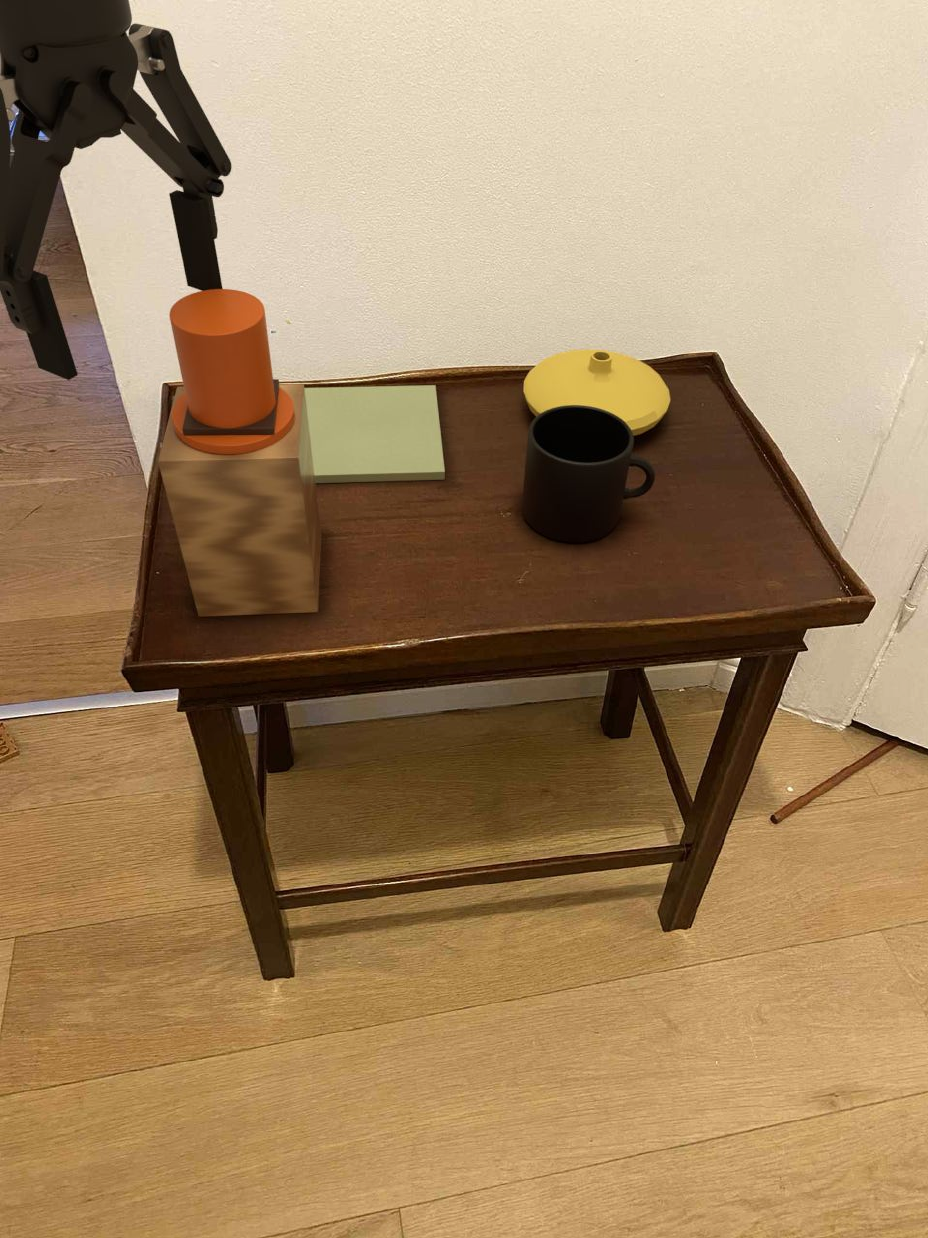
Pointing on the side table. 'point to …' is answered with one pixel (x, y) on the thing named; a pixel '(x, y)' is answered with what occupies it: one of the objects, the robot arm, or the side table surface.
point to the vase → (599, 386)
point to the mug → (579, 472)
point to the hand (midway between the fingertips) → (136, 327)
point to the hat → (226, 374)
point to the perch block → (247, 521)
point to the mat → (375, 433)
